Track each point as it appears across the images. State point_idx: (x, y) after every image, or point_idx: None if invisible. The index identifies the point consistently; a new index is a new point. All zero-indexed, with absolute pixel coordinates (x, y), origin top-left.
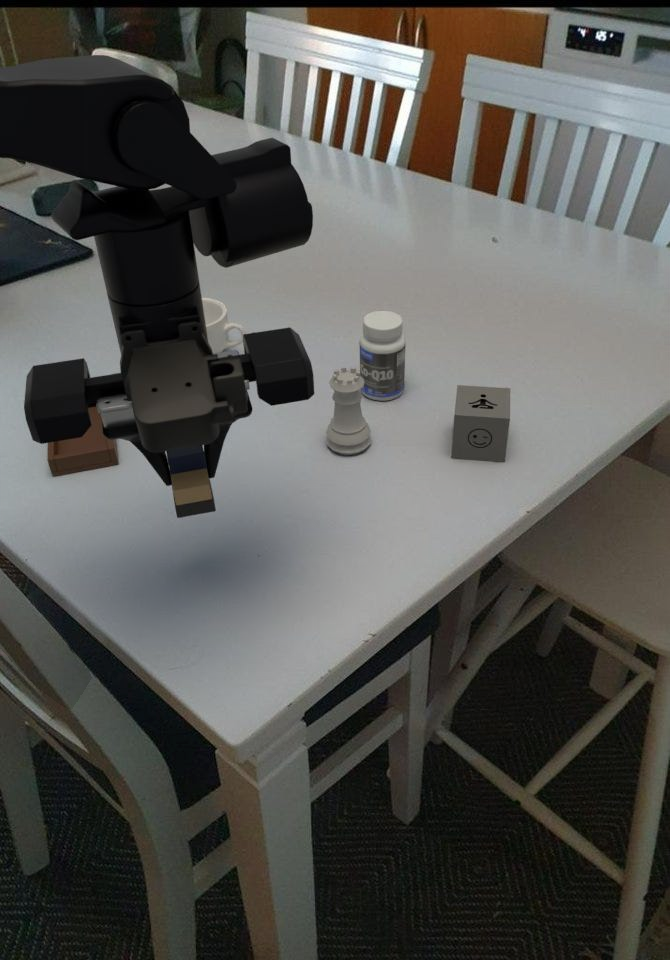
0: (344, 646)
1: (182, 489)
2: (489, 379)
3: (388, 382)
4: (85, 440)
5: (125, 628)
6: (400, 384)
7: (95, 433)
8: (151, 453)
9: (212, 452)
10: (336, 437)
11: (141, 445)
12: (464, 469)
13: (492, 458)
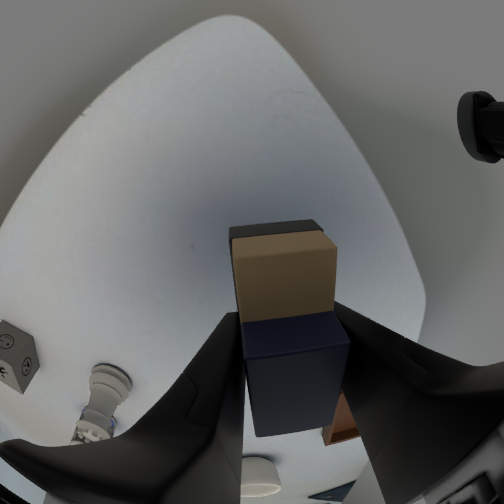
0: (109, 98)
1: (313, 248)
2: (35, 397)
3: None
4: None
5: (350, 162)
6: (81, 415)
7: (343, 407)
8: (402, 350)
9: (217, 358)
10: (114, 383)
11: (441, 364)
12: (22, 321)
13: (7, 325)
